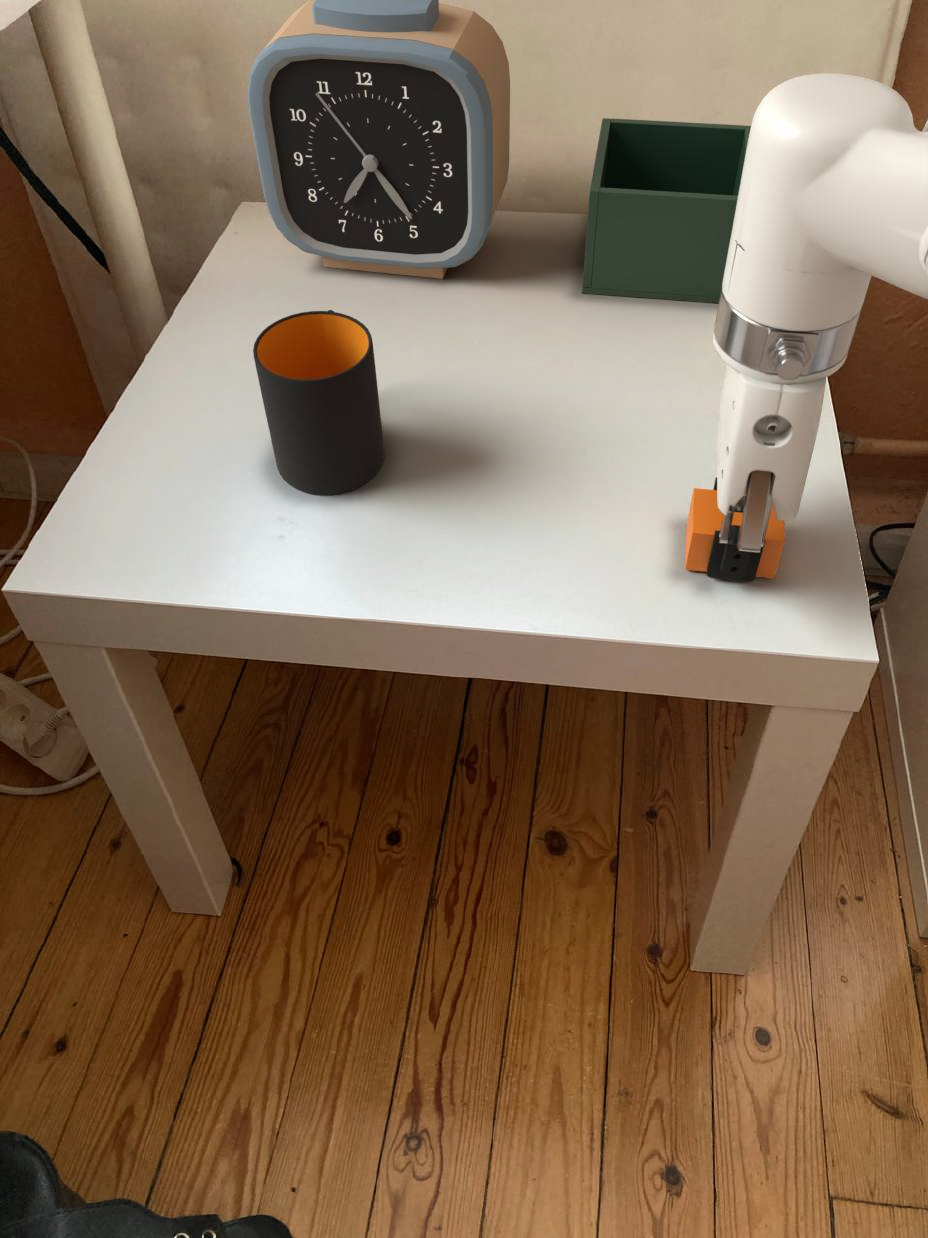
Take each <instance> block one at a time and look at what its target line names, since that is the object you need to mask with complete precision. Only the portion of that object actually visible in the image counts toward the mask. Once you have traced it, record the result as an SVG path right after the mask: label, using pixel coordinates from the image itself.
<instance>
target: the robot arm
mask: <svg viewBox="0 0 928 1238" xmlns="http://www.w3.org/2000/svg"><path fill="white" fill-rule="evenodd" d="M750 126H751V129H750V133H749V138H748V144H747V150H746V155H745V161H744V166H743V172H742V178H741V183H740V189H739V194H738V200H737V206H736V211H735V217H734V222H733V228H732V233H731V239H730V244H729V250H728V255H727V261H726V266H725V271H724V277H723V282H722V288H721V293H720V299H719V303H717V304H718V305H717V310H716V315H715V320H714V321H715V323H714V328H713V333H712V345H713V348H714V351H715V353H717V355H718V357H719V358H720V359H721V360H722V361H723V363H725V364H726V368H725V374H724V378H723V385H722V390H721V396H720V404H719V412H718V422H717V438H716V441H717V442H716V477H715V479H714V484H713V488H712V490H717V504H718V508H719V510H720V511H721V512H722V513H723V516H722V522H721V527H720V530H719V531H716V530H715V533H714V538H713V543H712V547H711V552H710V556H709V561H708V565H707V572H706V576H707V577H708V578H710V579H716V580H717V579H718V580H728V581H737V582H748V583H750V582H753V581H755V579H756V573H757V570H758V566H759V562H760V559H761V555H762V551H763V548H764V544H765V536H766V532H767V527H768V522H769V518H770V513H771V510H772V504H773V507H774V510H775V514H776V517H777V520H780V521H784V522H792V521H794V519H795V518H796V517H797V516H798V515H799V510H800V507H801V502H802V498H803V494H804V491H805V486H806V481H807V477H808V473H809V469H810V465H811V461H812V458H813V453H814V449H815V444H816V440H817V436H818V432H819V431H818V430H819V425H820V420H821V417H822V416H821V415H822V410H823V404H824V398H825V392H826V385H827V384H826V383H827V378H828V377H830V376H831V375H833V374H834V373H836V372H838V371H839V370H840V368H841V367H843V366H844V364H845V362H846V360H847V358H848V354H849V351H850V348H851V345H852V343H853V338H854V335H855V331H856V328H857V325H858V322H859V318H860V315H861V311H862V308H863V305H864V302H865V298H866V295H867V292H868V289H869V285H870V282H871V279H872V277H874V278H877V279H878V280H882V281H884V282H886V283H888V284H890V285H892V286H894V287H897V288H899V289H902V290H904V291H906V292H908V293H910V294H913V295H915V296H918V297H921V298H922V299H926V300H928V119H927V120H926V122H925V125H924V126H923V128H922V131H920V130H919V129H917V128H916V127H915V124H914V117H913V113H912V111H911V108H910V106H909V103H908V102H907V101H906V100H905V98H904V97H902V95H901V94H900V92H898V91H897V90H896V89H893V88H892V87H891V86H889V85H887V84H885V83H882V82H880V81H878V80H875V79H872V78H868V77H864V76H860V75H855V74H847V73H836V72H833V73H832V72H823V73H822V72H821V73H813V74H804V75H799V76H796V77H792V78H790V79H787V80H785V81H784V82H781V83H780V84H778V85H776V86H775V87H772V89H771V90H770V91H769V92H768V93H766V94H765V95H764V96H763V98H762V99H761V101H760V103H759V104H758V106H757V108H756V109H755V112H754V115H753V117H752V121H751V125H750ZM744 494H745V496H744ZM734 512H740V513H743V516H742V522H741V526H739V525H732V520H733V515H734Z"/></svg>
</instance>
